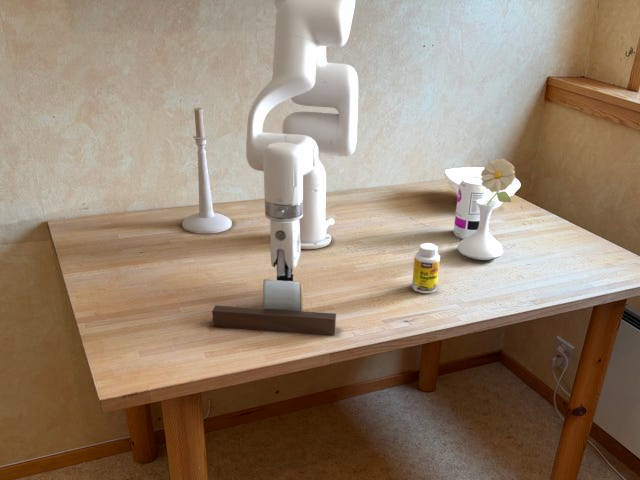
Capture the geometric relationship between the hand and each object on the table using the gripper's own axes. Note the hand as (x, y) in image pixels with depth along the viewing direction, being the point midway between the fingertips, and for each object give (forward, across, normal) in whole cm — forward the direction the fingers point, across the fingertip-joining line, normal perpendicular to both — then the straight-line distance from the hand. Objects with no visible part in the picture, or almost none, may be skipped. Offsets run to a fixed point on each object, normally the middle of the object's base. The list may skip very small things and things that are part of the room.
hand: (285, 292), depth 145 cm
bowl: (+2, +72, -47) cm, 86 cm away
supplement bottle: (+2, +10, -30) cm, 32 cm away
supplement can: (+2, +46, -42) cm, 63 cm away
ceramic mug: (+2, -5, 0) cm, 6 cm away
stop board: (+2, -12, 0) cm, 12 cm away
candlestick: (+2, +42, +27) cm, 50 cm away
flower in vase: (+2, +32, -45) cm, 55 cm away
